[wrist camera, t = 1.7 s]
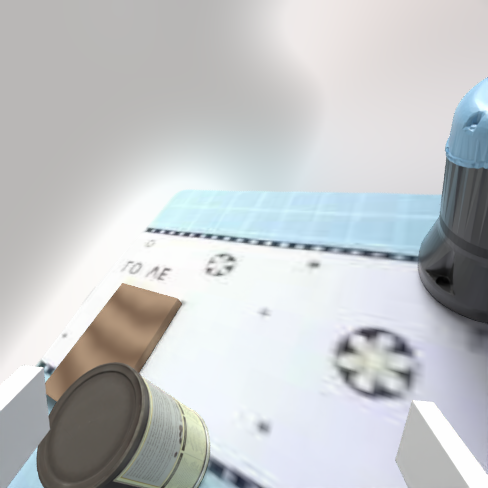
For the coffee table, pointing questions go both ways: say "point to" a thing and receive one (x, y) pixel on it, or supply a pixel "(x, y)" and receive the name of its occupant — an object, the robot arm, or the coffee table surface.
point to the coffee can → (122, 435)
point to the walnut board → (117, 335)
